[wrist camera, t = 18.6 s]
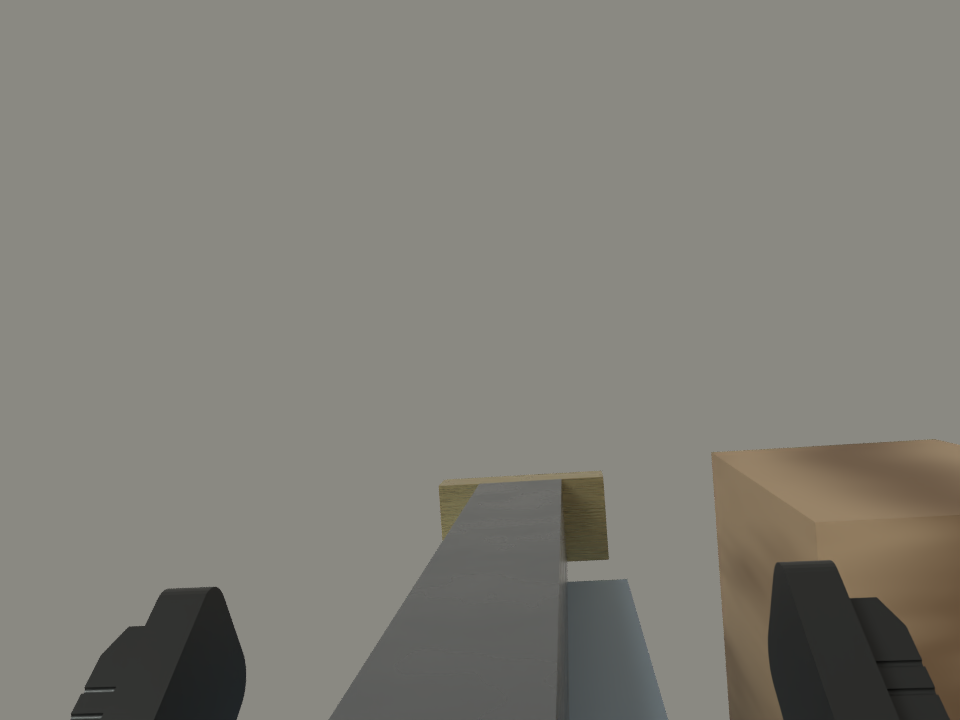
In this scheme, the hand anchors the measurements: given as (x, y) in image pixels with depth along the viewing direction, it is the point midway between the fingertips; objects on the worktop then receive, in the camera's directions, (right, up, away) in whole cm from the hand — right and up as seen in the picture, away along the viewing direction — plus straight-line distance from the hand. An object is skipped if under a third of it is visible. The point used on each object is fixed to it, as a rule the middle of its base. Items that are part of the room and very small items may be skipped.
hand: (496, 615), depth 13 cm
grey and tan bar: (0, -4, +9) cm, 10 cm away
